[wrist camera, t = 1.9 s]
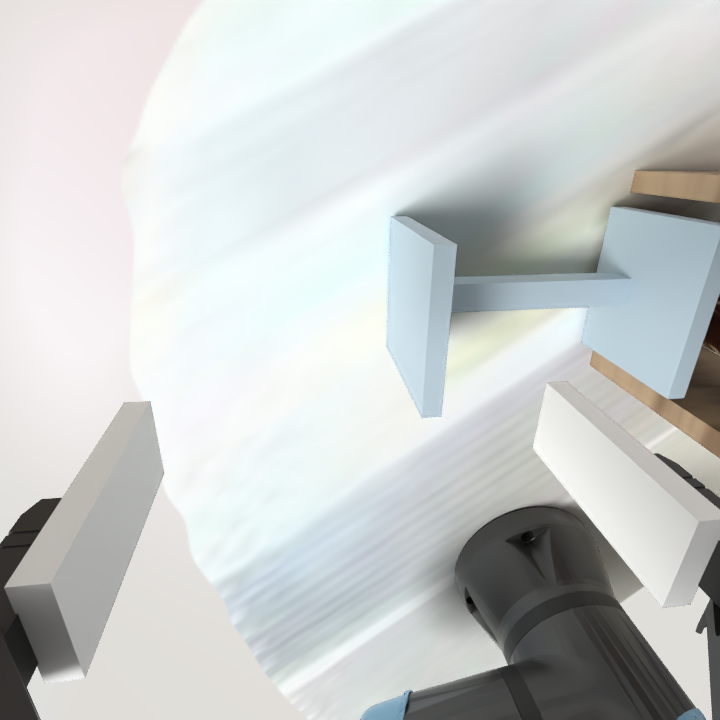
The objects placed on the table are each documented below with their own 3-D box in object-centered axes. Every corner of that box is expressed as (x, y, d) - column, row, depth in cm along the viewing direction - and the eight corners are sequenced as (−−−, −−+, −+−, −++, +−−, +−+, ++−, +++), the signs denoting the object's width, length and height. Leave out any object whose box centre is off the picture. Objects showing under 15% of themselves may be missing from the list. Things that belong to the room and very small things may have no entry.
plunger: (386, 351, 37) (421, 425, 27) (390, 209, 33) (434, 234, 23) (594, 341, 39) (696, 405, 30) (625, 206, 35) (758, 229, 25)
